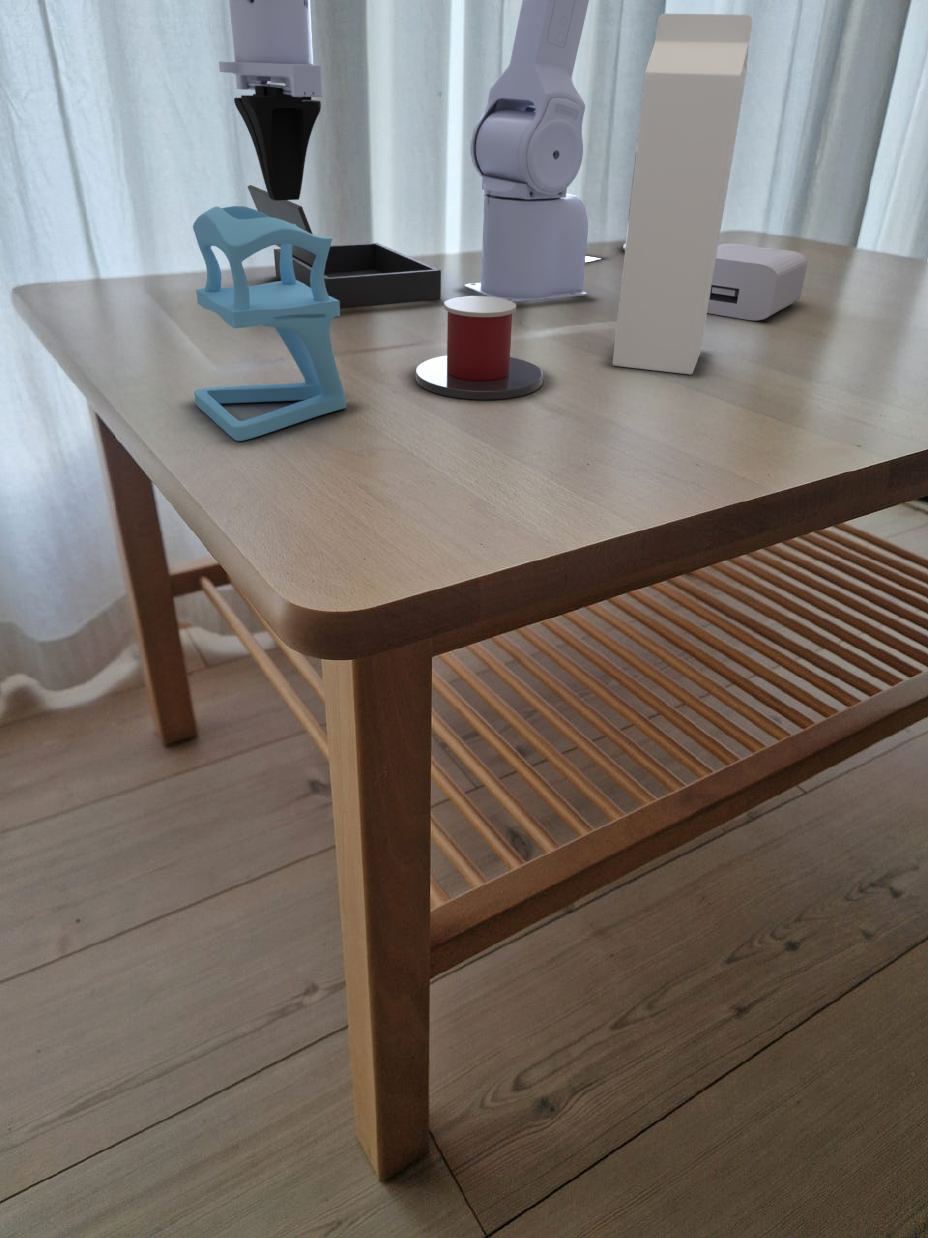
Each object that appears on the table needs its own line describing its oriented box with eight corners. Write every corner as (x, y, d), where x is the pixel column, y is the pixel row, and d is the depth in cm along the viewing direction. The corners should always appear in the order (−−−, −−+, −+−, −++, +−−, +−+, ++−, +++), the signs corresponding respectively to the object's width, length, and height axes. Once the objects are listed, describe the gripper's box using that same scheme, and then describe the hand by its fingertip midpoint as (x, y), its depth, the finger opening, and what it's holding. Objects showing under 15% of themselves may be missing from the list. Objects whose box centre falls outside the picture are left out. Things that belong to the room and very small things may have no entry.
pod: (491, 358, 66) (494, 293, 63) (525, 377, 62) (529, 308, 59) (431, 365, 64) (431, 299, 61) (463, 385, 60) (464, 315, 57)
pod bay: (327, 314, 78) (325, 278, 76) (276, 280, 89) (273, 248, 87) (440, 304, 82) (441, 270, 81) (378, 273, 93) (377, 242, 92)
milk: (624, 346, 72) (663, 15, 60) (701, 354, 70) (756, 16, 58) (611, 366, 67) (650, 10, 55) (693, 375, 65) (751, 11, 53)
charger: (817, 294, 90) (767, 323, 79) (729, 281, 94) (671, 307, 83) (828, 244, 87) (779, 266, 77) (737, 233, 91) (679, 253, 81)
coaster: (503, 355, 68) (503, 348, 68) (566, 390, 62) (567, 381, 61) (395, 369, 65) (395, 360, 64) (450, 406, 58) (450, 397, 58)
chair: (364, 419, 56) (356, 209, 49) (235, 442, 52) (209, 218, 45) (313, 385, 61) (300, 192, 55) (193, 403, 57) (165, 199, 51)
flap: (326, 269, 76) (322, 271, 76) (274, 240, 87) (271, 242, 87) (301, 205, 72) (297, 207, 72) (250, 184, 84) (247, 186, 84)
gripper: (188, -9, 67) (210, 189, 75) (242, -19, 57) (262, 213, 64) (278, -4, 70) (291, 186, 77) (346, -13, 59) (354, 209, 67)
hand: (284, 199), depth 71 cm, fingers closed
